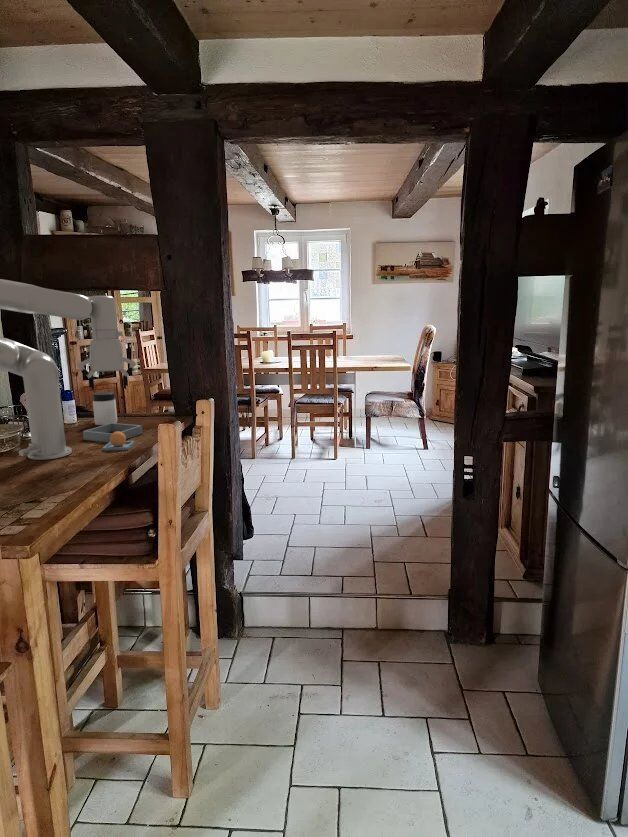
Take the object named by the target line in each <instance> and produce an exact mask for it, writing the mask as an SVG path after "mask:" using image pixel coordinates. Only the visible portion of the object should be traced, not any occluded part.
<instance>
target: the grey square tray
mask: <svg viewBox="0 0 628 837" xmlns="http://www.w3.org/2000/svg"><path fill="white" fill-rule="evenodd" d="M117 431H119V432H122V433H124V435H125V436H126V440H128V439H129V440H130V439H131V438H135V437H137V436H140V435H143V433H144V430H143V425H141V424H129V423H118V422H117V423H109V424H106V425H98V426H97V427H96V426H95V427H93V428H89V429H85V430H83V431H82V436H83V440H85V441H92V442H102V443H103V442H104V443H109V442H110V436H111V435H112V434H113V433H114V432H117Z"/></svg>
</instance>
